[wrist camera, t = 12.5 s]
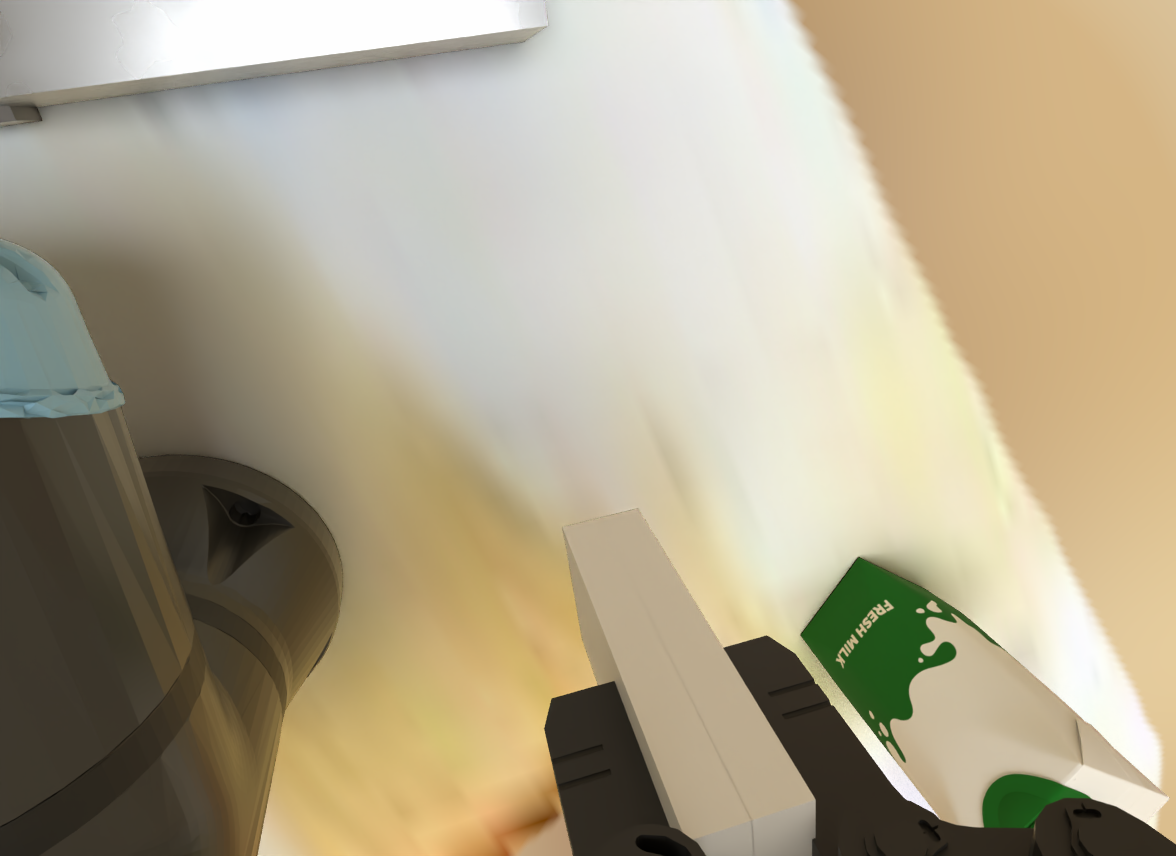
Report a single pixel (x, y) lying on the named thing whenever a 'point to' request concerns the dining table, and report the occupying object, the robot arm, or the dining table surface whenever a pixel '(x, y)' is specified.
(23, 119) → the tray
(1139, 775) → the milk carton
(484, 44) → the slot plate
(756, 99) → the dining table surface
